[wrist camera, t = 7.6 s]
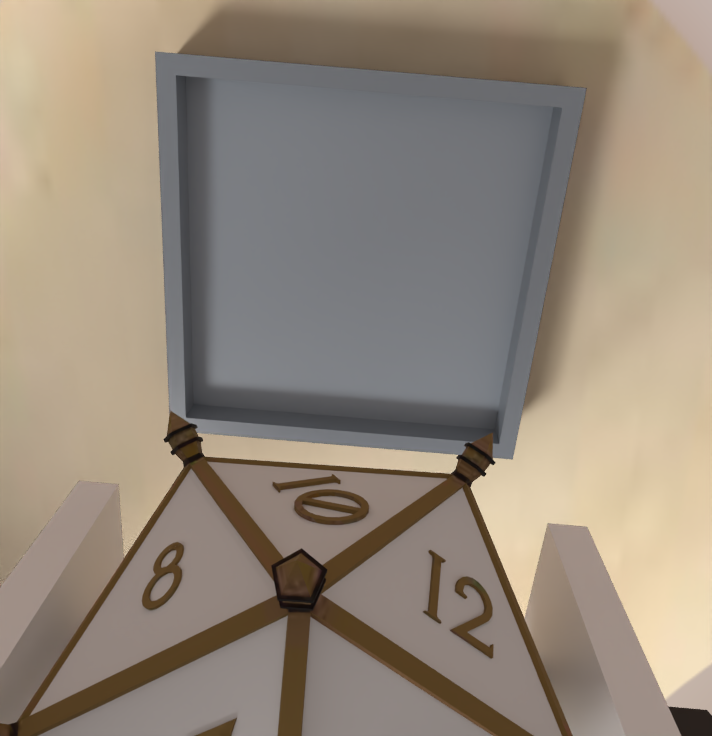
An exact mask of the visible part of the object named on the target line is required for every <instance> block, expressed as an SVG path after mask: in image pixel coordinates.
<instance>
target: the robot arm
mask: <svg viewBox="0 0 712 736" xmlns="http://www.w3.org/2000/svg"><path fill="white" fill-rule="evenodd" d="M123 559H124V553H123V539H122V525H121V511H120V498H119V484H109V483H98V482H87V481H79V482H78V483H77V484H76V486H75V487H74V488H73V490H72V491H71V492H70V494H69V495H68V496H67V498H66V499H65V500H64V502H63V503H62V504H61V506H60V507H59V508H58V510H57V511H56V512H55V514H54V515H53V517H52V518H51V519H50V521H49V522H48V523H47V525H46V526H45V527H44V529H43V530H42V531H41V533H40V534H39V535H38V537H37V538H36V539H35V541H34V542H33V543H32V545H31V546H30V548H29V549H28V550H27V552H26V553H25V554H24V556H23V557H22V558H21V560H20V561H19V562H18V564H17V565H16V566H15V568H14V569H13V570H12V572H11V573H10V574H9V576H8V577H7V578H6V580H5V581H4V583H3V584H2V585H1V587H0V723H2V724H11V723H15V722H17V721H18V719H19V717H20V716H21V714H22V713H23V711H24V710H25V708H26V707H27V705H28V704H29V702H30V701H31V699H32V698H33V696H34V695H35V693H36V692H37V690H38V689H39V687H40V686H41V684H42V683H43V681H44V679H45V678H46V676H47V675H48V673H49V672H50V670H51V669H52V667H53V666H54V664H55V663H56V661H57V660H58V658H59V657H60V655H61V654H62V652H63V651H64V649H65V648H66V646H67V645H68V643H69V641H70V640H71V638H72V637H73V635H74V634H75V632H76V631H77V629H78V628H79V626H80V625H81V623H82V622H83V620H84V619H85V617H86V616H87V614H88V613H89V611H90V610H91V608H92V607H93V605H94V604H95V602H96V600H97V599H98V597H99V596H100V594H101V593H102V591H103V590H104V588H105V587H106V585H107V584H108V582H109V581H110V579H111V578H112V576H113V575H114V573H115V572H116V570H117V569H118V567H119V566H120V564H121V562H122V561H123ZM525 621H526V624H527V626H528V629H529V631H530V633H531V636H532V638H533V641H534V643H535V646H536V648H537V650H538V653H539V655H540V658H541V660H542V662H543V665H544V667H545V670H546V672H547V675H548V677H549V679H550V682H551V684H552V687H553V689H554V692H555V694H556V696H557V699H558V701H559V704H560V706H561V708H562V711H563V713H564V716H565V718H566V721H567V723H568V725H569V728H570V730H571V733H572V735H573V736H712V715H711V714H710V713H709V712H708V711H707V710H700V709H689V708H678V707H677V708H676V707H668V705H667V703H666V701H665V698H664V696H663V694H662V692H661V690H660V687H659V685H658V683H657V681H656V678H655V676H654V674H653V672H652V670H651V667H650V665H649V663H648V661H647V659H646V656H645V654H644V652H643V650H642V647H641V645H640V643H639V641H638V639H637V636H636V634H635V632H634V630H633V627H632V625H631V623H630V621H629V619H628V616H627V614H626V612H625V610H624V607H623V605H622V603H621V601H620V599H619V596H618V594H617V592H616V590H615V587H614V585H613V583H612V581H611V579H610V576H609V574H608V572H607V570H606V567H605V565H604V563H603V561H602V559H601V556H600V554H599V552H598V550H597V548H596V545H595V543H594V541H593V539H592V536H591V534H590V532H589V530H588V528H587V527H583V526H572V525H561V524H550V523H548V524H547V528H546V532H545V537H544V541H543V545H542V549H541V553H540V557H539V561H538V565H537V569H536V573H535V578H534V582H533V586H532V590H531V594H530V598H529V602H528V606H527V610H526V614H525Z"/></svg>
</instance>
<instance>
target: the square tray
mask: <svg viewBox="0 0 712 736" xmlns="http://www.w3.org/2000/svg"><path fill="white" fill-rule="evenodd" d="M155 60H156V86H157V111H158V136H159V161H160V187H161V212H162V237H163V262H164V287H165V313H166V338H167V363H168V388H169V413H170V410H171V411H172V412H174V413H175V414H177V415H178V416H180V417H181V418H183V419H184V420H186V421H187V422H189V423H192V424H196V425H197V427H198V428H196V429H195V430H196V432H197V433H204V434H216V435H228V436H240V437H252V438H264V439H276V440H288V441H300V442H312V443H324V444H336V445H348V446H360V447H372V448H384V449H396V450H408V451H420V452H432V453H444V454H456V455H462V453H463V452H464V450H465V449H466V447H465V446H464V445H465V443H468V442H469V443H472V442H474V441H476V440H478V439H480V438H482V437H484V436H486V435H488V434H490V433H492V432H493V458H503V459H513V455H514V450H515V445H516V440H517V435H518V430H519V425H520V420H521V415H522V410H523V405H524V400H525V395H526V390H527V385H528V380H529V375H530V370H531V365H532V360H533V355H534V350H535V345H536V340H537V335H538V330H539V325H540V320H541V314H542V309H543V304H544V299H545V294H546V289H547V284H548V279H549V274H550V269H551V264H552V259H553V254H554V249H555V244H556V239H557V234H558V229H559V224H560V219H561V214H562V209H563V204H564V199H565V194H566V189H567V184H568V179H569V174H570V169H571V164H572V159H573V154H574V149H575V144H576V139H577V134H578V129H579V124H580V119H581V114H582V109H583V104H584V99H585V94H586V89H587V88H580V87H568V86H557V85H545V84H533V83H521V82H509V81H497V80H485V79H473V78H462V77H450V76H438V75H426V74H414V73H402V72H390V71H378V70H367V69H355V68H343V67H331V66H319V65H307V64H295V63H283V62H272V61H260V60H248V59H236V58H224V57H212V56H200V55H188V54H177V53H165V52H155Z"/></svg>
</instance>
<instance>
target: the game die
mask: <svg viewBox="0 0 712 736" xmlns="http://www.w3.org/2000/svg"><path fill="white" fill-rule="evenodd" d="M196 428H198V427H197V425H196V424H192V423H189V422H187V421H186V420H184V419H183V418H181V417H180V416H178V415H177V414H175V413H174V412H172V411H171V410H170V416H169V424H168V432H167V437H166V438H165V439H164V441H165V442H169V444H170V445H171V447H172V449H173V450H172V451H171V454H172V455H174V454H176V455H177V456H178V457H179V458H180V459H181V460H182V461H183V464H184V468H183V470H182V471H181V473H180V474H179V476H178V477H177V479H176V480H175V482H174V483H173V485H172V487H171V488H170V490H169V491H168V493H167V494H166V496H165V497H164V499H163V500H162V502H161V503H160V505H159V506H158V508H157V509H156V511H155V512H154V514H153V515H152V517H151V518H150V520H149V521H148V523H147V524H146V526H145V528H144V529H143V531H142V532H141V534H140V535H139V537H138V538H137V540H136V541H135V543H134V544H133V546H132V547H131V549H130V550H129V552H128V553H127V555H126V556H125V558H124V559H123V561H122V562H121V564H120V566H119V567H118V569H117V570H116V572H115V573H114V575H113V576H112V578H111V579H110V581H109V582H108V584H107V585H106V587H105V588H104V590H103V591H102V593H101V594H100V596H99V597H98V599H97V600H96V602H95V604H94V605H93V607H92V608H91V610H90V611H89V613H88V614H87V616H86V617H85V619H84V620H83V622H82V623H81V625H80V626H79V628H78V629H77V631H76V632H75V634H74V635H73V637H72V638H71V640H70V641H69V643H68V645H67V646H66V648H65V649H64V651H63V652H62V654H61V655H60V657H59V658H58V660H57V661H56V663H55V664H54V666H53V667H52V669H51V670H50V672H49V673H48V675H47V676H46V678H45V679H44V681H43V683H42V684H41V686H40V687H39V689H38V690H37V692H36V693H35V695H34V696H33V698H32V699H31V701H30V702H29V704H28V705H27V707H26V708H25V710H24V711H23V713H22V714H21V716H20V717H19V719H18V721H17V722H15V723H11V724H2V723H0V736H573V735H572V733H571V730H570V728H569V725H568V723H567V721H566V718H565V716H564V713H563V711H562V708H561V706H560V704H559V701H558V699H557V696H556V694H555V692H554V689H553V687H552V684H551V682H550V679H549V677H548V675H547V672H546V670H545V667H544V665H543V662H542V660H541V658H540V655H539V653H538V650H537V648H536V646H535V643H534V641H533V638H532V636H531V633H530V631H529V629H528V626H527V624H526V621H525V619H524V616H523V614H522V612H521V609H520V607H519V604H518V602H517V600H516V597H515V595H514V592H513V590H512V587H511V585H510V583H509V580H508V578H507V575H506V573H505V570H504V568H503V566H502V563H501V561H500V558H499V556H498V554H497V551H496V549H495V546H494V544H493V541H492V539H491V537H490V534H489V532H488V529H487V527H486V524H485V522H484V520H483V517H482V515H481V512H480V510H479V508H478V505H477V503H476V500H475V498H474V495H473V493H472V491H471V488H470V487H471V484H472V482H473V481H474V480H476V479H477V478H478V477H479V476H481V475H482V476H485V475H486V473H485V472H484V471H485V470H486V469H487V467H488V466H489V465H490V464H492V465H494V464H495V462H494V461H493V432H492V433H490V434H488V435H486V436H484V437H482V438H480V439H478V440H476V441H474V442H472V443H469V442H468V443H465V445H464V446H465V447H466V449H465V450H464V452H463V453H462V455H458V456H457V459H458V463H457V466H456V469H455V471H454V472H452V473H451V474H445V473H430V472H416V471H401V470H387V469H373V468H358V467H344V466H329V465H315V464H301V463H286V462H272V461H257V460H243V459H228V458H214V457H205V456H204V455H203V453H202V449H201V442H202V441H203V439H202V437H198V435H197V432H196V430H195V429H196Z"/></svg>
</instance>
